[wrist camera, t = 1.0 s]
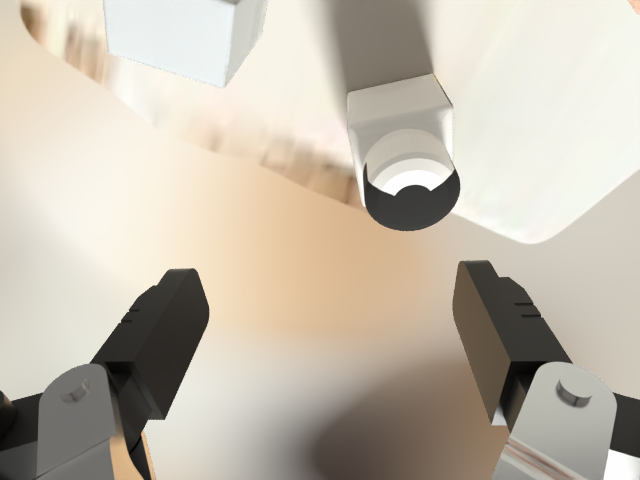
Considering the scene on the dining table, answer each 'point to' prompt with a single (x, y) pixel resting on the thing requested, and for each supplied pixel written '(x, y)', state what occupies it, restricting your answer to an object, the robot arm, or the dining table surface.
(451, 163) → the medicine bottle
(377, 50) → the dining table surface
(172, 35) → the skincare box
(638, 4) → the terracotta bowl
